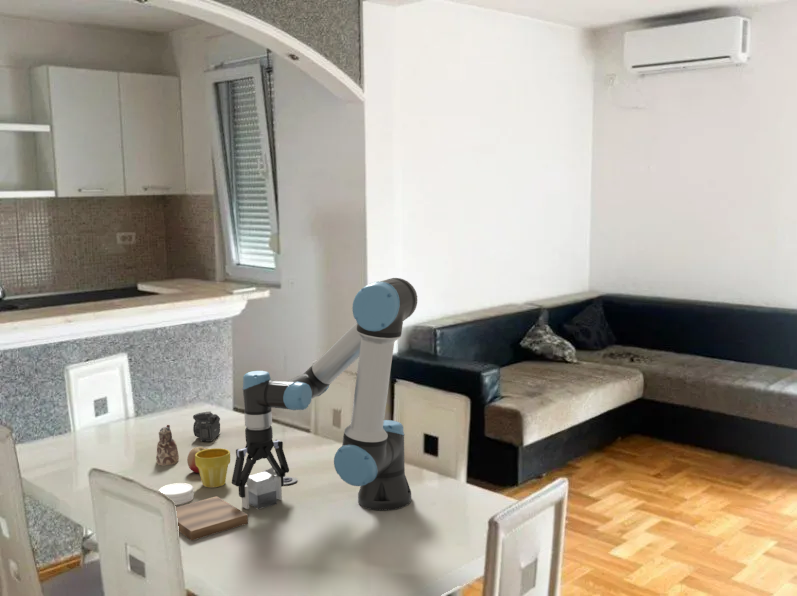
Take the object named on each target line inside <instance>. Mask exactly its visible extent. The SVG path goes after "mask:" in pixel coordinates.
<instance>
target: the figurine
mask: <svg viewBox="0 0 797 596" xmlns="http://www.w3.org/2000/svg"><path fill="white" fill-rule="evenodd" d="M158 438H159V441H158V442H157V445H156V457H155V460H156V464H158V465H159V466H171V465H175V464H177V463H179V458H180V457H179V456H180V455H179V450H178V449H179V448H178V446H177V443H176V441H175V440H174V439H173V435H172V430H171V426H170V424H166V426H163V427H161V428H160V430H159V431H158Z"/></svg>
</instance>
